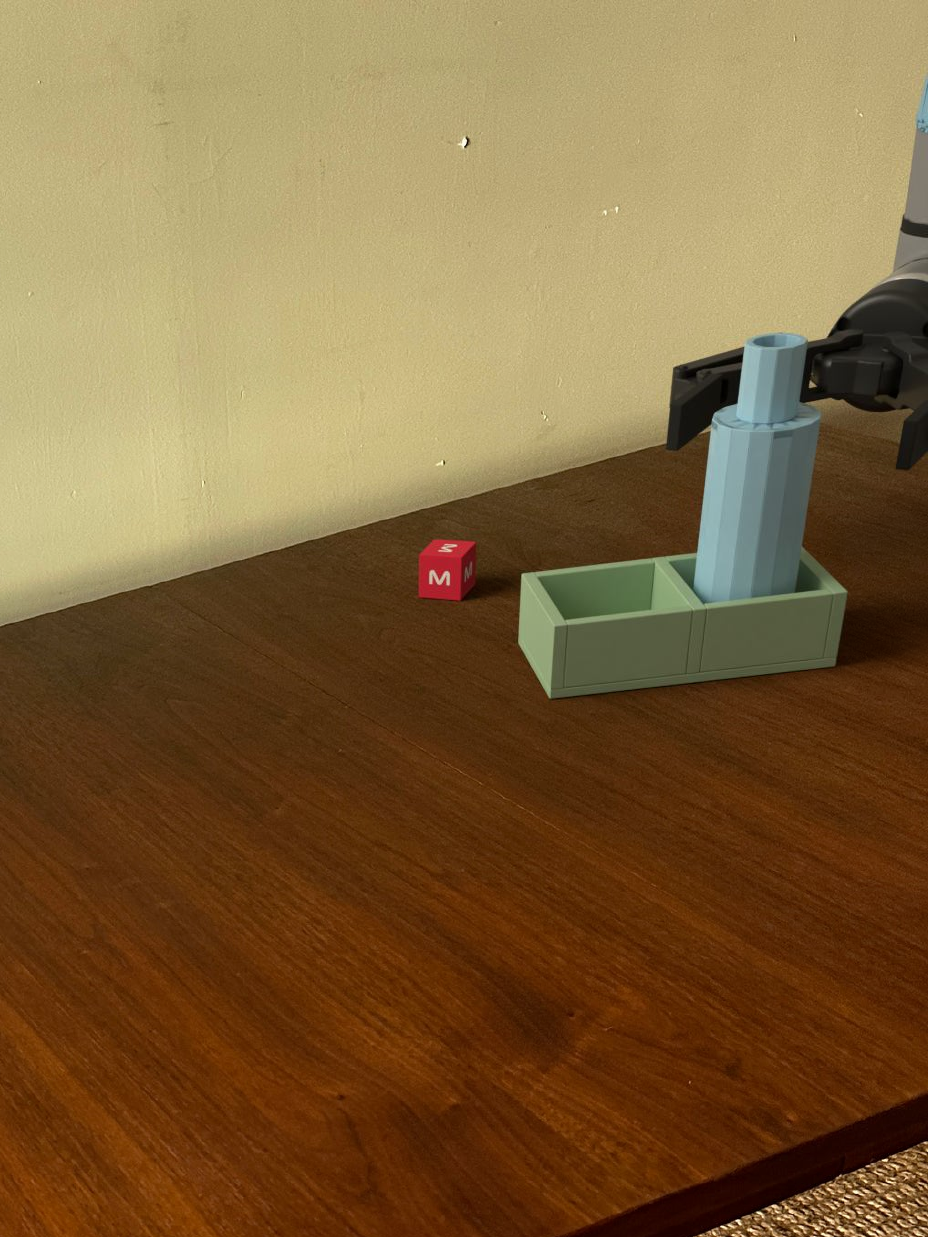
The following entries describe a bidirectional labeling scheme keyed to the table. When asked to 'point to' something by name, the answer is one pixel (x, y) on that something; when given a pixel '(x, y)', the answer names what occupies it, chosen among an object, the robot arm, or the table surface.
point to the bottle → (758, 477)
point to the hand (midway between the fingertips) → (785, 436)
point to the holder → (669, 627)
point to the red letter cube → (447, 569)
